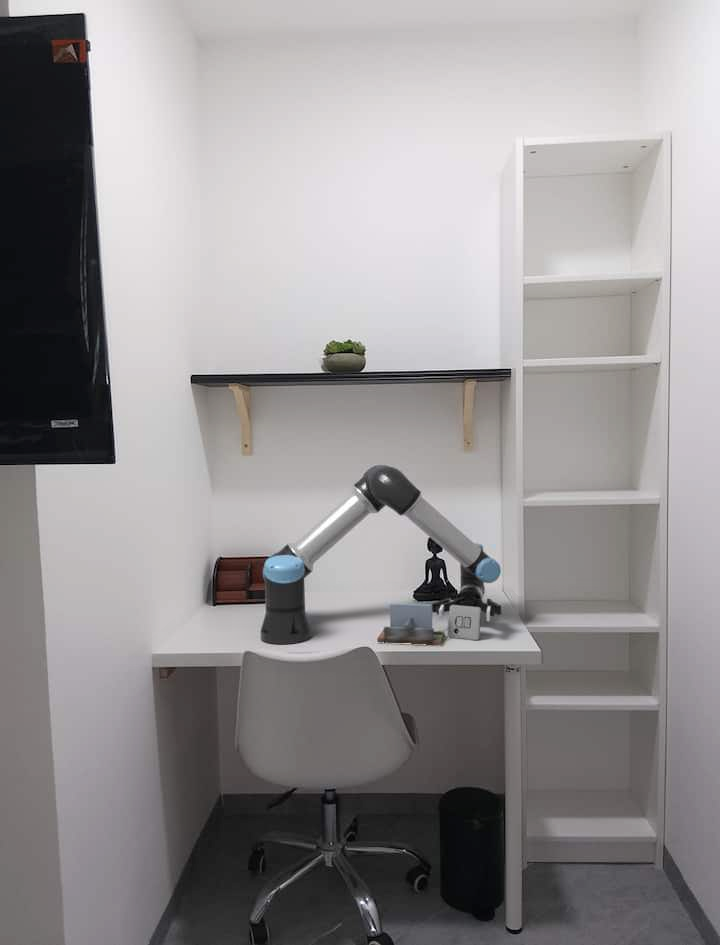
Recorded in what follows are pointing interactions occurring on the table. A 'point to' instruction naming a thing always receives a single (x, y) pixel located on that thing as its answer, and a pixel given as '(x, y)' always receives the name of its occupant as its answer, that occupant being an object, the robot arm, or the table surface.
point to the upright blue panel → (411, 616)
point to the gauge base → (411, 635)
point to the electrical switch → (464, 622)
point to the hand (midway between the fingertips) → (463, 615)
